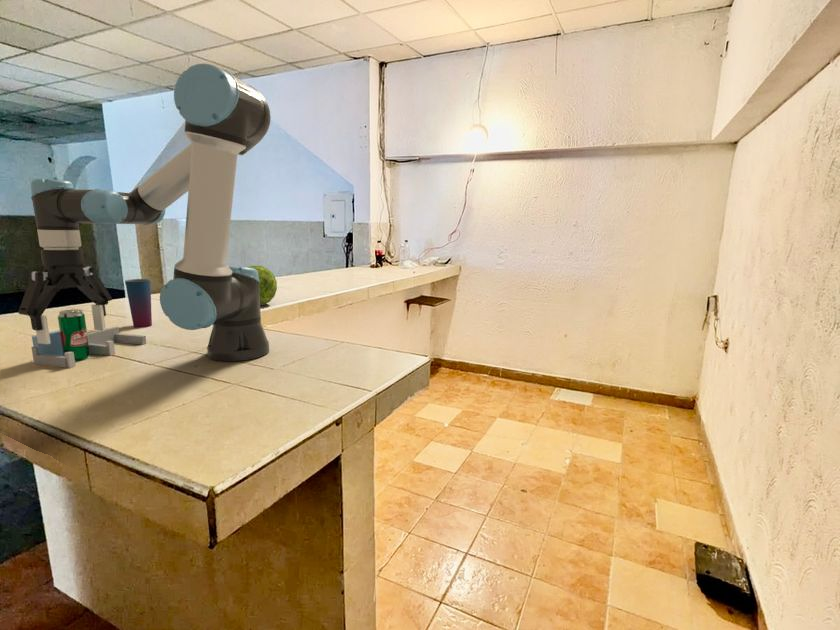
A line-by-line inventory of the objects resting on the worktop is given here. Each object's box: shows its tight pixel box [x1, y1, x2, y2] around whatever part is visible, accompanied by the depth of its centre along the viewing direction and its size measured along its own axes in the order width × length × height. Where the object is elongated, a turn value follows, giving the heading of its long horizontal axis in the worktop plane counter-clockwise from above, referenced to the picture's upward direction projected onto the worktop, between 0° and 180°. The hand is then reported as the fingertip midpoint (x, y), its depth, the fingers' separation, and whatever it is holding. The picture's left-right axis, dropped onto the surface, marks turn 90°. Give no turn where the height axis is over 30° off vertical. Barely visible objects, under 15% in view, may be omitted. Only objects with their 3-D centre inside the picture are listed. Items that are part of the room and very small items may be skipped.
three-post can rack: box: [30, 326, 147, 369], centre depth 109 cm, size 11×22×6 cm, turn 167°
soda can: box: [57, 309, 91, 362], centre depth 104 cm, size 5×5×12 cm
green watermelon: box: [246, 265, 278, 306], centre depth 180 cm, size 17×23×16 cm
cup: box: [124, 278, 153, 329], centre depth 137 cm, size 7×7×15 cm
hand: (74, 336), depth 104 cm, fingers open, 13 cm apart
